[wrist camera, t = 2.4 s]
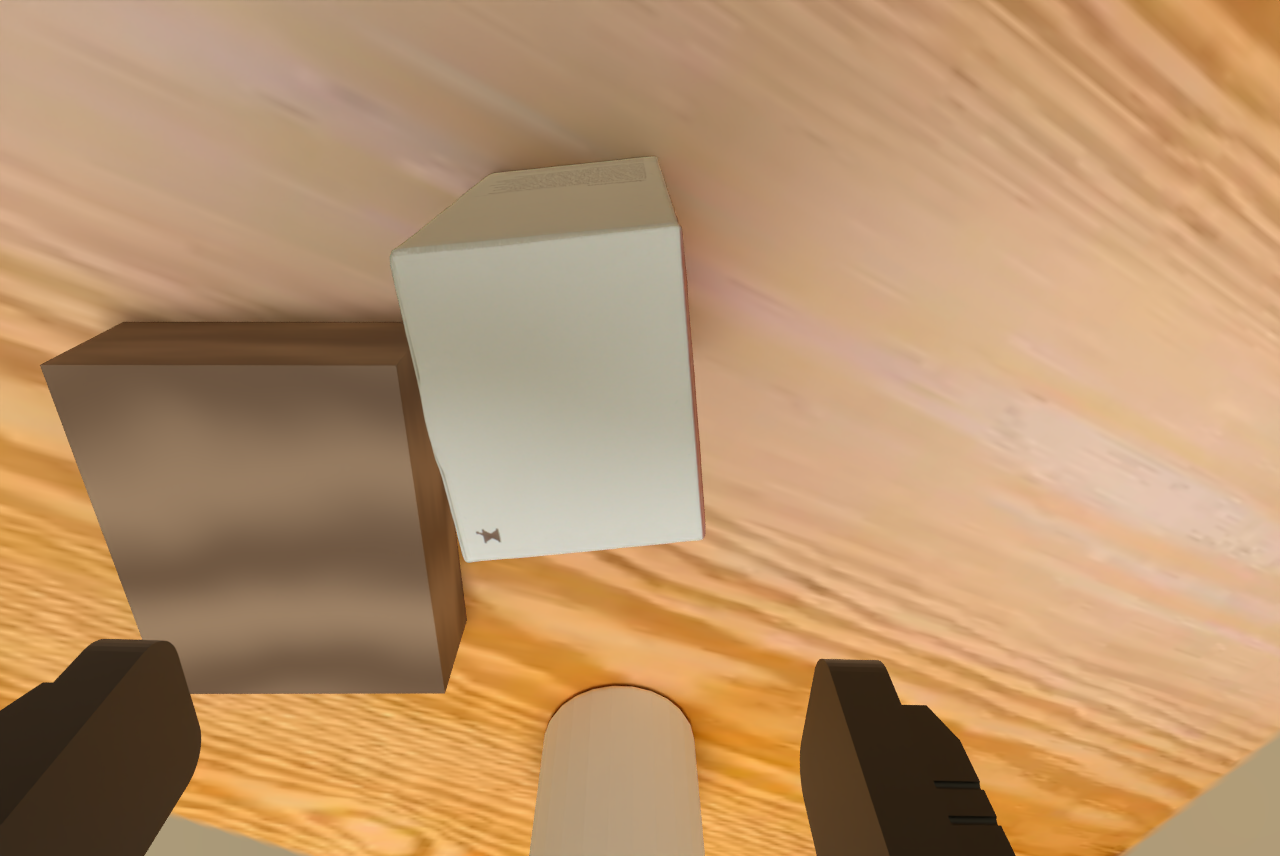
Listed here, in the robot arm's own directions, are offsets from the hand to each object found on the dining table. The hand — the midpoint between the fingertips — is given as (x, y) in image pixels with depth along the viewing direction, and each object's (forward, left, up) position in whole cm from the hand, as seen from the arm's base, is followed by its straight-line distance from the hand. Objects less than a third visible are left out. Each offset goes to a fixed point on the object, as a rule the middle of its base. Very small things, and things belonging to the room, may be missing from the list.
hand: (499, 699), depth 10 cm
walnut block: (+10, -12, -22) cm, 27 cm away
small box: (0, 0, -22) cm, 22 cm away
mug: (+27, +1, -22) cm, 35 cm away
